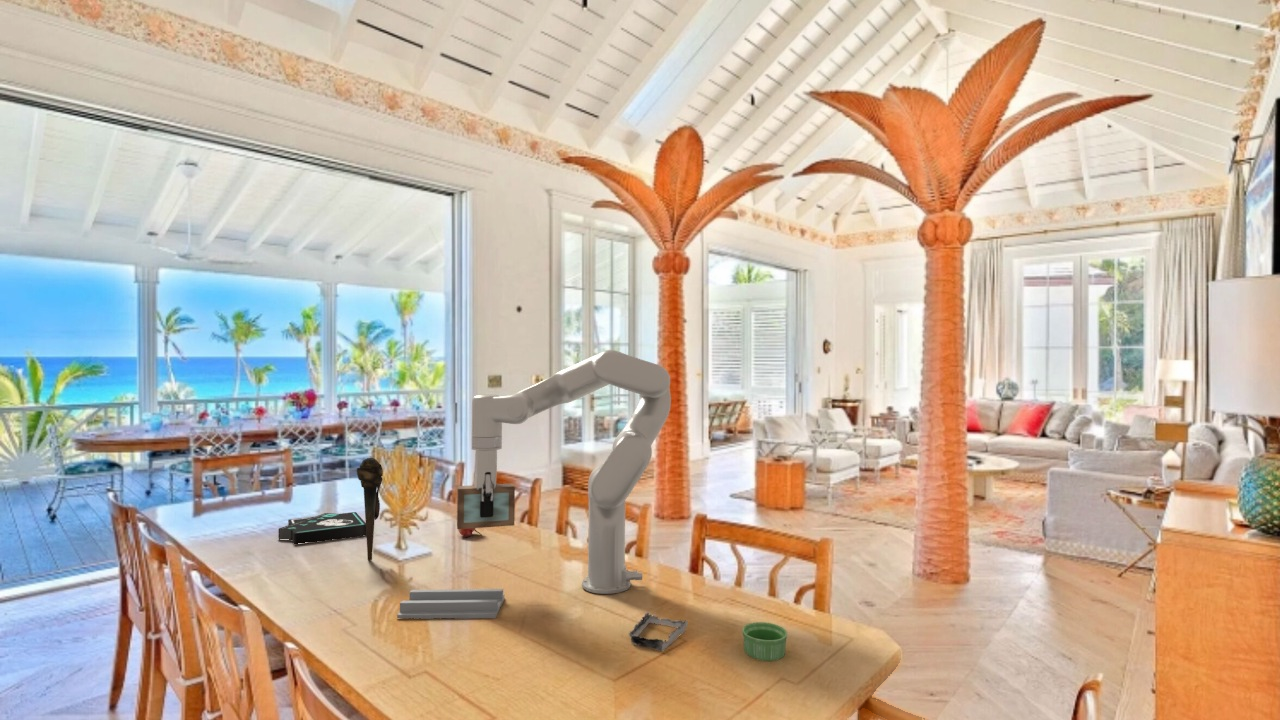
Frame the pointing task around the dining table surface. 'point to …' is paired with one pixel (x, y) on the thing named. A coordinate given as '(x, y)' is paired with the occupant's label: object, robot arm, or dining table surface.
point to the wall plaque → (323, 527)
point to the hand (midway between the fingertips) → (485, 514)
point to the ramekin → (764, 641)
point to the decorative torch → (370, 496)
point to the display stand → (452, 604)
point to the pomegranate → (467, 532)
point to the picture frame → (471, 507)
